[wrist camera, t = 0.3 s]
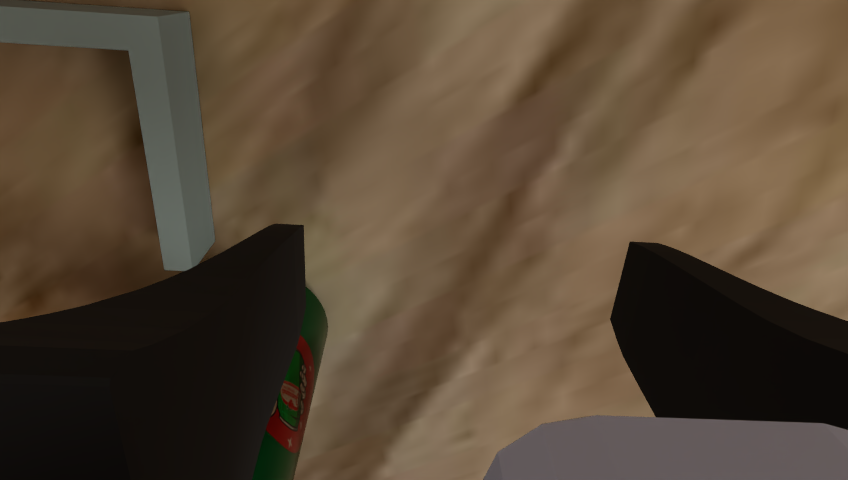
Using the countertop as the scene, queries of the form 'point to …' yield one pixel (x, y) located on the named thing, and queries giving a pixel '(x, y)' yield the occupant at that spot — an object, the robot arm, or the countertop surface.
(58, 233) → the countertop surface
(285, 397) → the soda can
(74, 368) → the robot arm
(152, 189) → the corral
